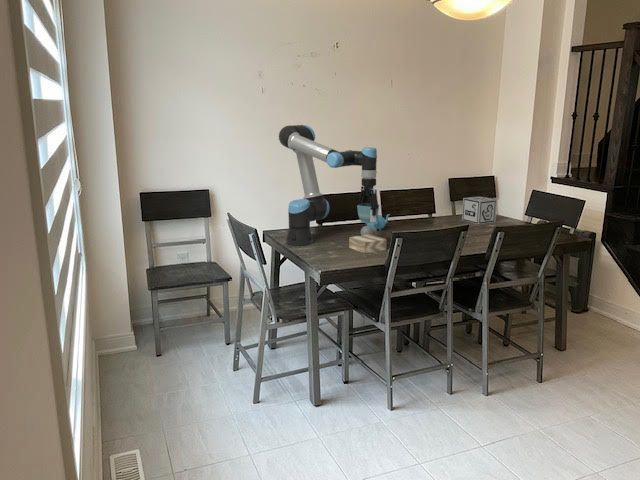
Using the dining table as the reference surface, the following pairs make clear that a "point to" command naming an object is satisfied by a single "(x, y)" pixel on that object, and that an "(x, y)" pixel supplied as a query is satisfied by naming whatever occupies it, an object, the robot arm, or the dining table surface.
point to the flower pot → (365, 212)
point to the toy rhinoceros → (368, 230)
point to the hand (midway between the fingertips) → (368, 219)
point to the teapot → (378, 222)
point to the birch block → (367, 243)
